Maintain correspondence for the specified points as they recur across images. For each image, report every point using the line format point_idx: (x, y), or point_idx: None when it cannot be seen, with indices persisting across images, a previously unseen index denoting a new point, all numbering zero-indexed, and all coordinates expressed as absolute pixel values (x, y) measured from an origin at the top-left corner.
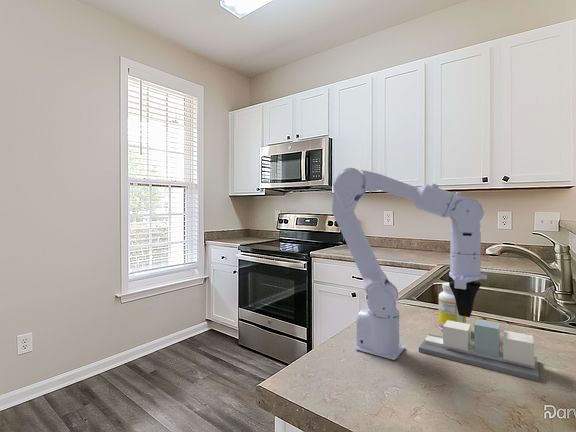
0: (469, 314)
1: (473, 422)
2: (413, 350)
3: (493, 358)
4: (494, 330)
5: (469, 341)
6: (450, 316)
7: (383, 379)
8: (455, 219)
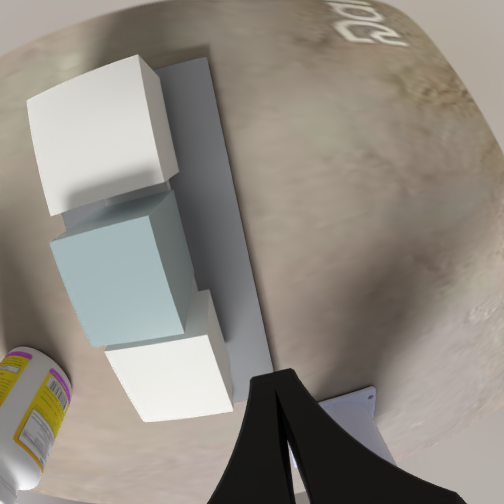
0: (298, 380)
1: (499, 165)
2: None
3: None
4: (156, 234)
5: None
6: (47, 414)
7: (455, 346)
8: None
